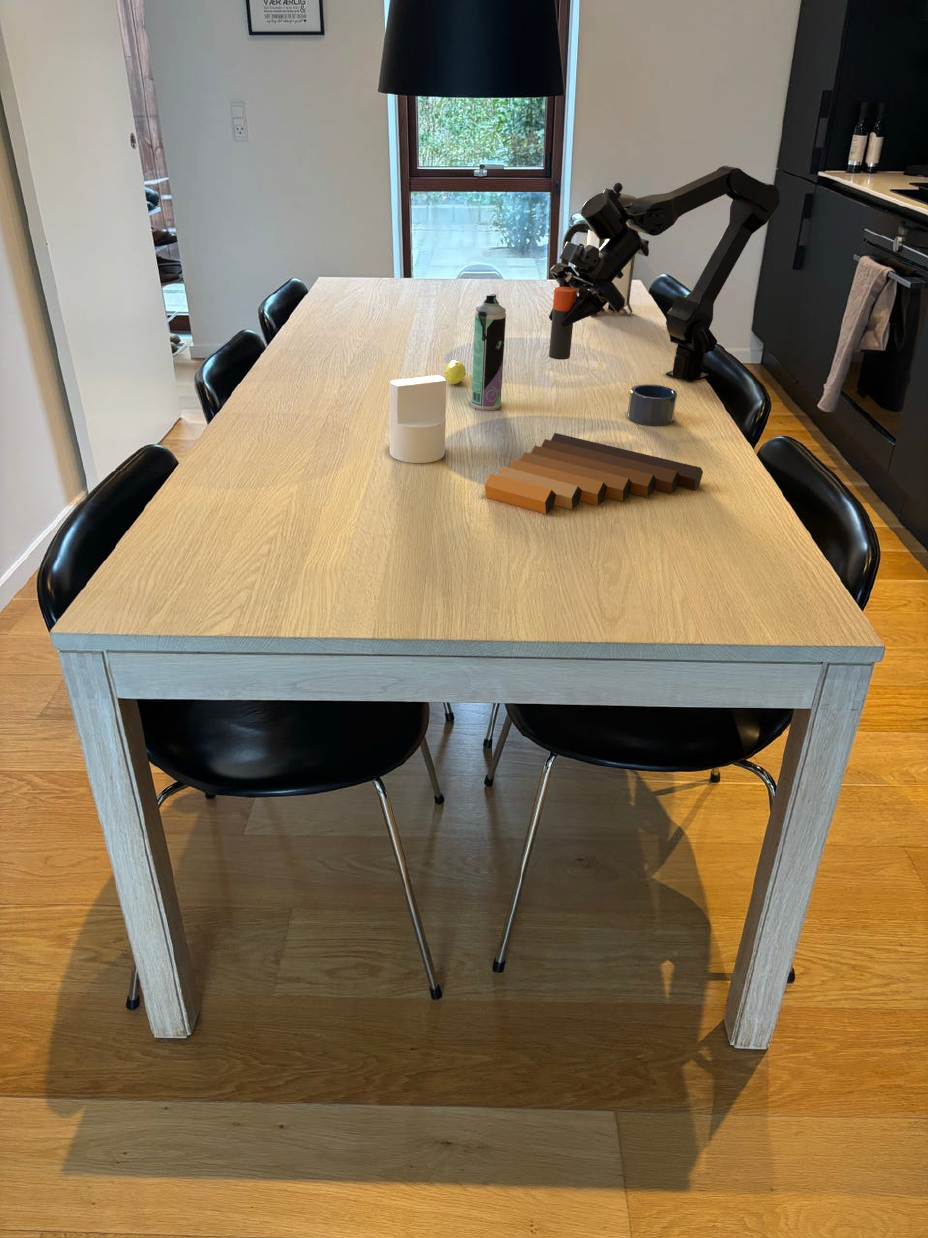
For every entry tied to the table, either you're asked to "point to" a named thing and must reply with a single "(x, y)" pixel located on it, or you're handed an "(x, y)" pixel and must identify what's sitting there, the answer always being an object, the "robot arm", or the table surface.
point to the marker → (560, 334)
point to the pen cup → (652, 405)
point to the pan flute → (585, 475)
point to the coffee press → (626, 280)
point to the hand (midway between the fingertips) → (556, 322)
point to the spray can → (488, 354)
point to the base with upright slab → (418, 419)
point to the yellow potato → (455, 372)
